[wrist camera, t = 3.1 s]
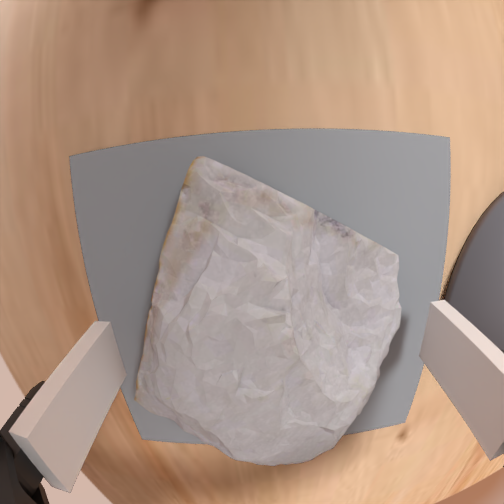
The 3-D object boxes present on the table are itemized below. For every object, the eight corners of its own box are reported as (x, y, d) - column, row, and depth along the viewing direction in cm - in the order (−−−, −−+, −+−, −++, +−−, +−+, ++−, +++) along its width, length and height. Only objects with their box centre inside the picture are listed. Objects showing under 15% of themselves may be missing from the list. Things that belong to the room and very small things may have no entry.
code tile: (71, 156, 11) (69, 156, 11) (447, 137, 11) (449, 137, 11) (143, 437, 16) (142, 439, 15) (403, 420, 15) (405, 422, 15)
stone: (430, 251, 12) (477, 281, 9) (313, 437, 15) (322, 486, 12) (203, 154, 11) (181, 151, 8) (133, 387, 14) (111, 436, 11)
